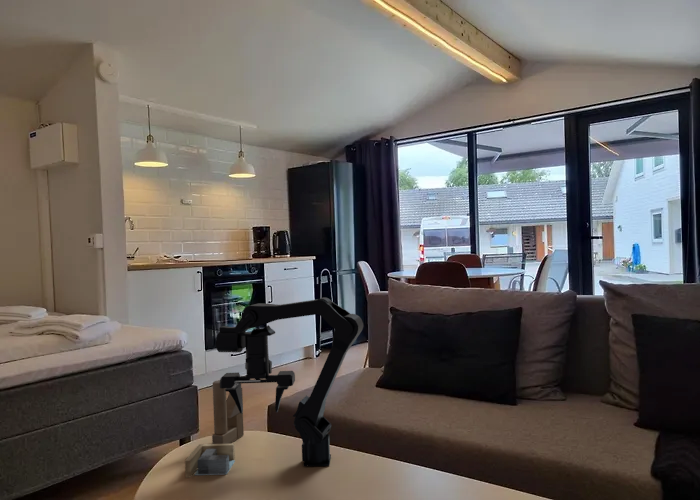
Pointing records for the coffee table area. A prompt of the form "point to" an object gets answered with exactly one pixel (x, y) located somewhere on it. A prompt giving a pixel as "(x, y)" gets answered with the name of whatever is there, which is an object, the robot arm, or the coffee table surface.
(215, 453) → the bracket
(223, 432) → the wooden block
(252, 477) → the coffee table surface
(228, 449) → the corner walls
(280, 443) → the coffee table surface
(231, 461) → the pad
